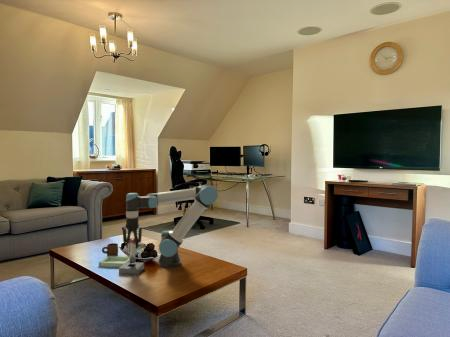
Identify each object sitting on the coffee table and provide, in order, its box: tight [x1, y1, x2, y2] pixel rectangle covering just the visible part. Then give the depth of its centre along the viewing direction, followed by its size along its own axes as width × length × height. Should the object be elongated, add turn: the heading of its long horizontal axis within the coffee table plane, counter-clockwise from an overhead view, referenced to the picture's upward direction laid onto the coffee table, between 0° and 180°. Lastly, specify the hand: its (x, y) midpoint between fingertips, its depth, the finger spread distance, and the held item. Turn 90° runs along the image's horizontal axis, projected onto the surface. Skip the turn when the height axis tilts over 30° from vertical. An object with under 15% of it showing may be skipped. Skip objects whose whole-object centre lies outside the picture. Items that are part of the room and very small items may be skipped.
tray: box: [98, 255, 129, 269], centre depth 212 cm, size 18×14×3 cm
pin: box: [128, 237, 136, 263], centre depth 199 cm, size 4×4×15 cm
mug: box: [101, 242, 119, 257], centre depth 224 cm, size 12×8×9 cm, turn 140°
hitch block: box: [118, 261, 145, 276], centre depth 199 cm, size 12×12×4 cm
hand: (132, 253), depth 199 cm, fingers closed on pin, 3 cm apart
